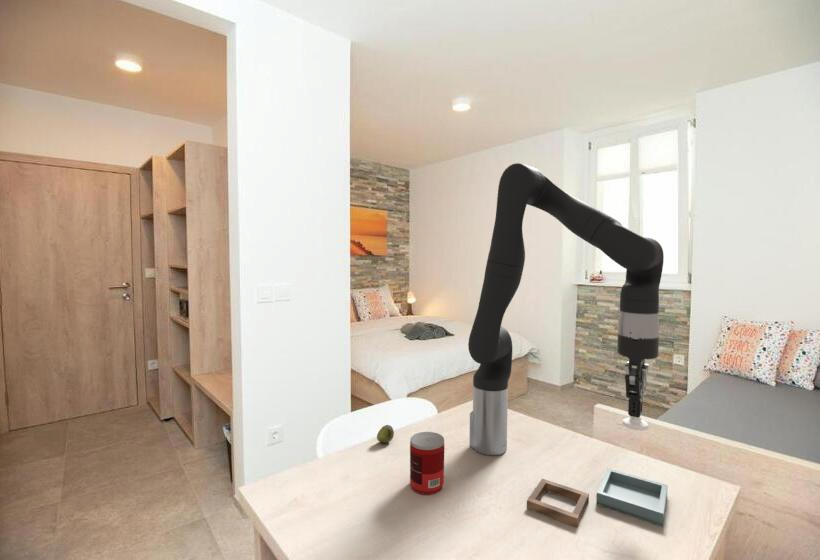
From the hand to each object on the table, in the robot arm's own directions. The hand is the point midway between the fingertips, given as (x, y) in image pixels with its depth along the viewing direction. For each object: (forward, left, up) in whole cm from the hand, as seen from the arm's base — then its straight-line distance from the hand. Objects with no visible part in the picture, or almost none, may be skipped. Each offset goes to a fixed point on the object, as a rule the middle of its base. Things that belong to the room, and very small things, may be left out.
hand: (635, 413), depth 86 cm
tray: (0, 0, -19) cm, 19 cm away
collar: (-12, -11, -19) cm, 25 cm away
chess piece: (0, 0, -3) cm, 3 cm away
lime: (-60, -10, -19) cm, 64 cm away
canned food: (-39, -21, -19) cm, 48 cm away
